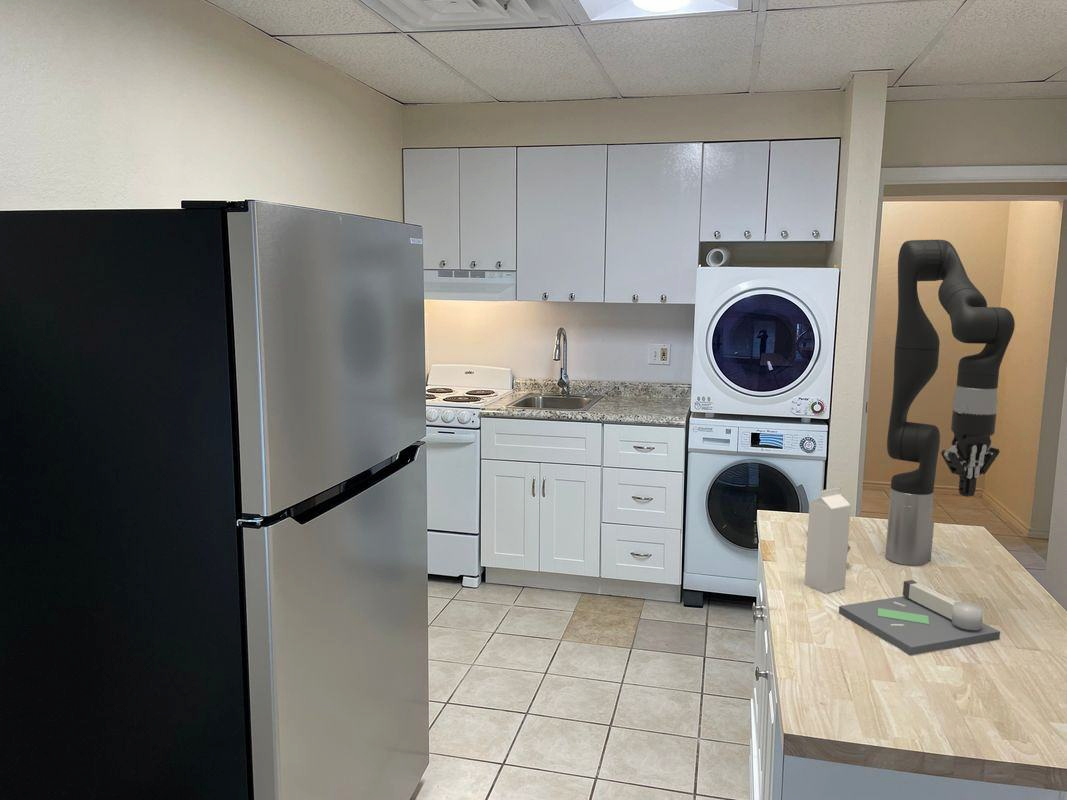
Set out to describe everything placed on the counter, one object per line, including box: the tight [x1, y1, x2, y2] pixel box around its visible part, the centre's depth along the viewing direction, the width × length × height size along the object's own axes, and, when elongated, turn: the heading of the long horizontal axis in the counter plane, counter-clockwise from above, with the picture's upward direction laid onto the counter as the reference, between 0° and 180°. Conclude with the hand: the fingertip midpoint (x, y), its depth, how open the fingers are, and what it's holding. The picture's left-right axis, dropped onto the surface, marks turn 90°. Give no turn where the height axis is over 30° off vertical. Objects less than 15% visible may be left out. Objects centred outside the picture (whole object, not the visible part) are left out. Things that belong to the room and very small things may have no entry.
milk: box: [804, 487, 851, 594], centre depth 174 cm, size 6×6×22 cm
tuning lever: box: [902, 579, 984, 630], centre depth 158 cm, size 18×5×4 cm, turn 19°
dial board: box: [838, 595, 1001, 656], centre depth 156 cm, size 21×19×2 cm
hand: (966, 495), depth 160 cm, fingers closed
